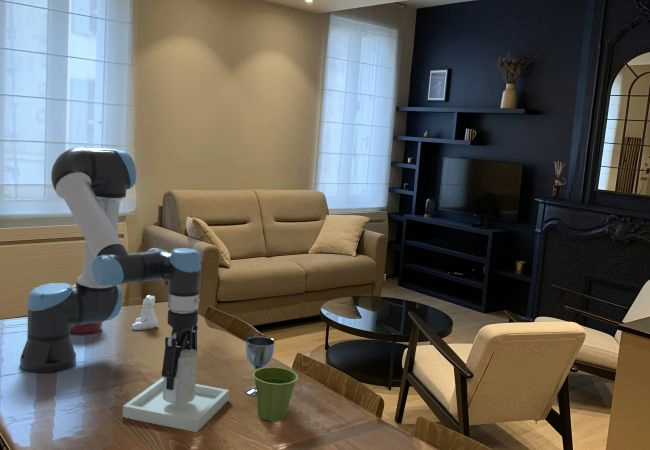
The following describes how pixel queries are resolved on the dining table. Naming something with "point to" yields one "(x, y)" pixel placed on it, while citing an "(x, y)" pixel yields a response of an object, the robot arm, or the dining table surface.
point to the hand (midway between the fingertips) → (178, 394)
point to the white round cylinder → (185, 377)
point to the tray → (176, 407)
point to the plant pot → (274, 391)
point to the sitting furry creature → (146, 315)
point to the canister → (86, 327)
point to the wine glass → (258, 355)
